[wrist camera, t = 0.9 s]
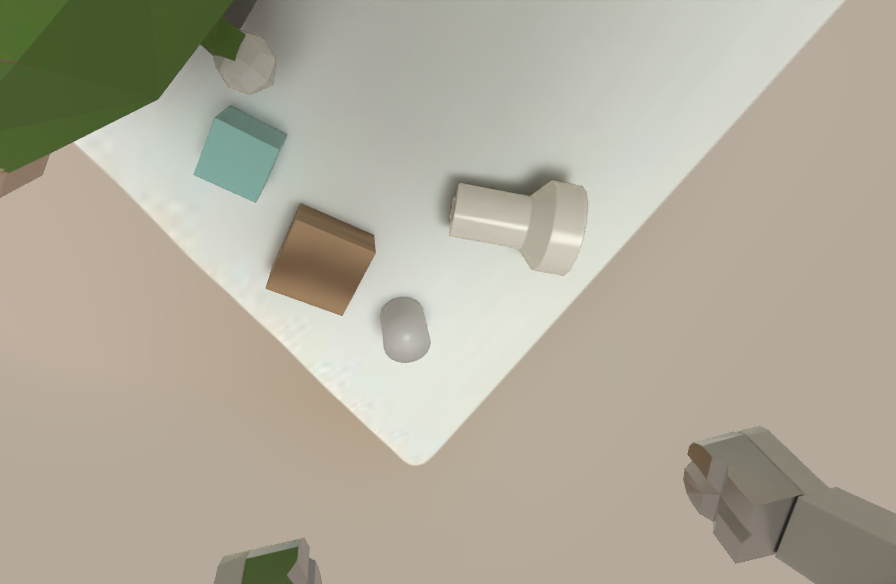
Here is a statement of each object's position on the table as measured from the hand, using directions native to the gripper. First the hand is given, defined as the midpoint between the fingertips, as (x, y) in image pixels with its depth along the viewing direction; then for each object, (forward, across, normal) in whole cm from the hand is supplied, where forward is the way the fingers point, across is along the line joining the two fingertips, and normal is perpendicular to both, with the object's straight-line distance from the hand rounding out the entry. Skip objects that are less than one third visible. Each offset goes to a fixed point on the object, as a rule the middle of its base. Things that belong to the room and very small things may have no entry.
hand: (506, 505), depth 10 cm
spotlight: (+36, -10, +8) cm, 38 cm away
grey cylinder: (+36, +2, +17) cm, 40 cm away
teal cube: (+36, +11, -1) cm, 37 cm away
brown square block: (+36, +8, +9) cm, 38 cm away
